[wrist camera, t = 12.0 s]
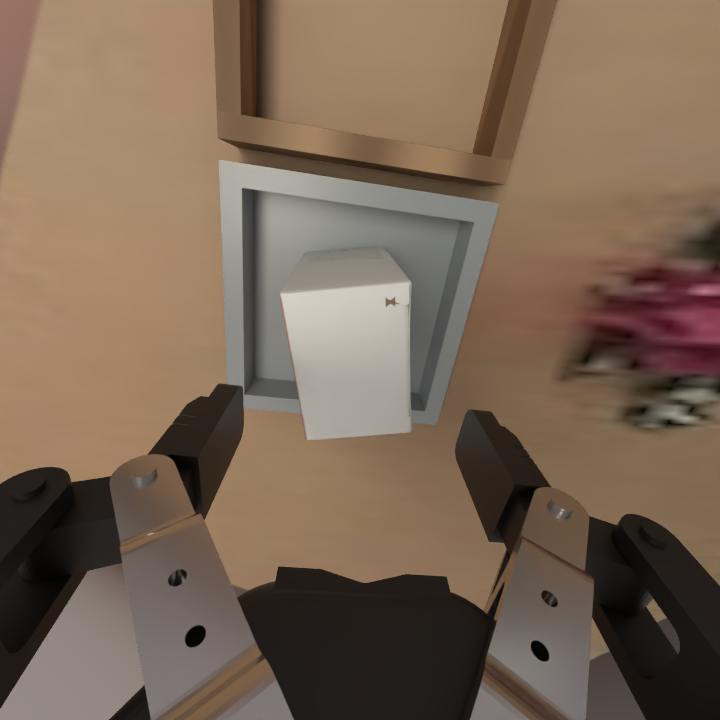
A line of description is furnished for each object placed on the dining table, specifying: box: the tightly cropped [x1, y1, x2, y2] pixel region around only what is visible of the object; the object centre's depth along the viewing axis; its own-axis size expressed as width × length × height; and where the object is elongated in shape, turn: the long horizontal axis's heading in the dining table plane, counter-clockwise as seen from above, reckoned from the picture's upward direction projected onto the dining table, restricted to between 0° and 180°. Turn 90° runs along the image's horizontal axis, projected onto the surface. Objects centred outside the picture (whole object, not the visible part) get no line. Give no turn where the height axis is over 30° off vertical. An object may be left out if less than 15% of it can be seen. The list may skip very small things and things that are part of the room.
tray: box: [219, 160, 500, 425], centre depth 24 cm, size 16×16×4 cm
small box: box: [279, 246, 412, 440], centre depth 20 cm, size 8×6×10 cm
